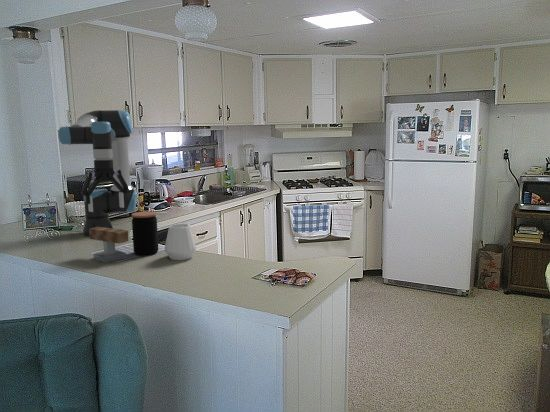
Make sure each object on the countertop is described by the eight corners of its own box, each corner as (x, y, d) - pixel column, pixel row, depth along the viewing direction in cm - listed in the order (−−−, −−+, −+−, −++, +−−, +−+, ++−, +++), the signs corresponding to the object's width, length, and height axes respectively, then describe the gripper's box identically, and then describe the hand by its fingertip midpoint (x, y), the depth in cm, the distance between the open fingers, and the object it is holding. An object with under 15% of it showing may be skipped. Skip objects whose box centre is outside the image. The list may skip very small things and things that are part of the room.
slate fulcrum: (115, 253, 204) (114, 236, 203) (126, 257, 197) (125, 239, 196) (93, 258, 197) (92, 240, 196) (104, 262, 190) (102, 243, 189)
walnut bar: (89, 238, 198) (89, 228, 197) (99, 236, 202) (98, 226, 201) (119, 243, 189) (118, 233, 188) (128, 241, 193) (127, 230, 193)
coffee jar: (147, 248, 212) (145, 210, 209) (163, 252, 206) (161, 212, 203) (128, 253, 203) (126, 214, 200) (144, 257, 197) (142, 216, 194)
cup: (194, 261, 191) (193, 228, 189) (162, 261, 191) (160, 229, 188) (197, 252, 205) (196, 222, 202) (167, 253, 204) (166, 222, 201)
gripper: (127, 157, 201) (129, 204, 205) (69, 160, 184) (73, 212, 188) (135, 158, 196) (138, 206, 200) (76, 161, 179) (80, 214, 182)
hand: (106, 209), depth 194 cm, fingers open, 13 cm apart
